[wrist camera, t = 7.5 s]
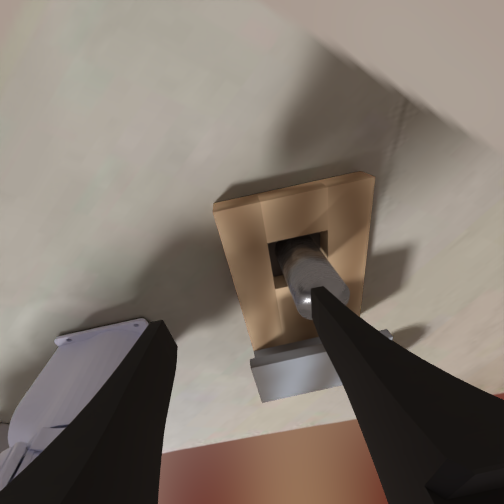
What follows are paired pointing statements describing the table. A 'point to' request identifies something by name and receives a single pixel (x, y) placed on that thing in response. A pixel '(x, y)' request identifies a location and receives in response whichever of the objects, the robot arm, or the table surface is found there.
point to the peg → (308, 272)
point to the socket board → (272, 279)
